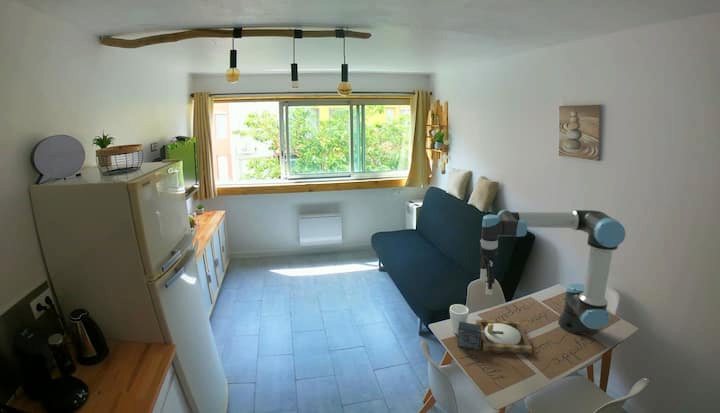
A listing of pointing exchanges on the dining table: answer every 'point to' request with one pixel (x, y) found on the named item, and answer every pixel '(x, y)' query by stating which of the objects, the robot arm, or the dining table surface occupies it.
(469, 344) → the small box
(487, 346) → the housing
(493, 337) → the dial
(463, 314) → the foam cup
